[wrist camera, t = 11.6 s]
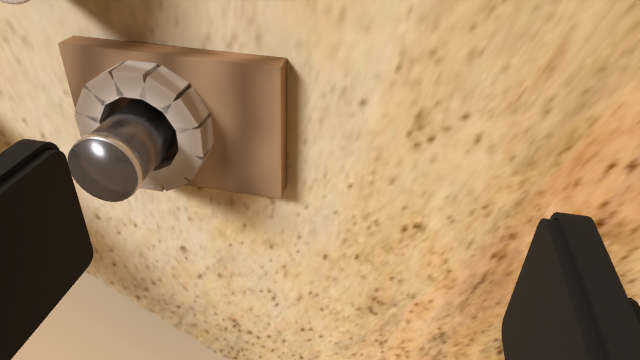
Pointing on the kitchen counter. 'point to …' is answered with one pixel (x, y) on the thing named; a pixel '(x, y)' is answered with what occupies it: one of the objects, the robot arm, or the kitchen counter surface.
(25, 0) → the camera
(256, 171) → the mount board
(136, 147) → the lens
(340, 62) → the kitchen counter surface
